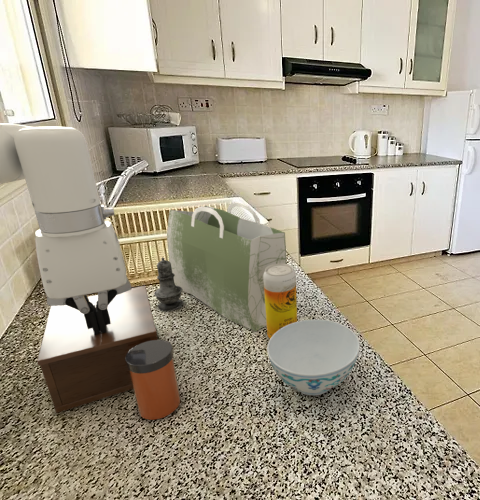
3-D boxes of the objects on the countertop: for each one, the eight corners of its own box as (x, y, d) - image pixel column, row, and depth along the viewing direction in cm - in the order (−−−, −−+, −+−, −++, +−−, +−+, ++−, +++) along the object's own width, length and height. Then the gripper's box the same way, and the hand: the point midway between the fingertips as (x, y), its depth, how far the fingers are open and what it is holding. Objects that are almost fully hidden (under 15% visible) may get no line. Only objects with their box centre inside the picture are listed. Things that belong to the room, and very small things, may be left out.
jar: (129, 410, 57) (115, 356, 53) (164, 386, 62) (154, 335, 58) (155, 426, 54) (143, 370, 51) (190, 399, 59) (181, 347, 56)
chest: (165, 378, 64) (156, 334, 60) (56, 413, 56) (39, 364, 53) (153, 327, 78) (146, 289, 74) (65, 349, 70) (52, 308, 67)
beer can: (284, 348, 72) (280, 278, 67) (261, 338, 75) (256, 270, 70) (303, 333, 77) (302, 267, 71) (281, 324, 80) (278, 260, 74)
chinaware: (261, 365, 67) (259, 329, 65) (338, 347, 73) (339, 312, 70) (281, 427, 55) (279, 385, 52) (373, 399, 60) (375, 360, 57)
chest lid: (157, 335, 60) (156, 331, 59) (38, 366, 52) (36, 361, 52) (145, 288, 74) (145, 285, 74) (52, 307, 67) (51, 303, 67)
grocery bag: (300, 306, 87) (297, 210, 79) (253, 332, 77) (244, 225, 68) (217, 270, 105) (207, 188, 96) (169, 287, 94) (154, 197, 86)
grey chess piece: (150, 308, 85) (141, 259, 80) (171, 296, 90) (163, 250, 86) (170, 313, 83) (161, 264, 78) (190, 301, 88) (183, 254, 84)
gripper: (130, 206, 59) (150, 307, 66) (8, 219, 52) (44, 331, 59) (134, 218, 53) (155, 328, 60) (-4, 234, 46) (38, 357, 53)
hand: (100, 329), depth 59 cm, fingers closed
